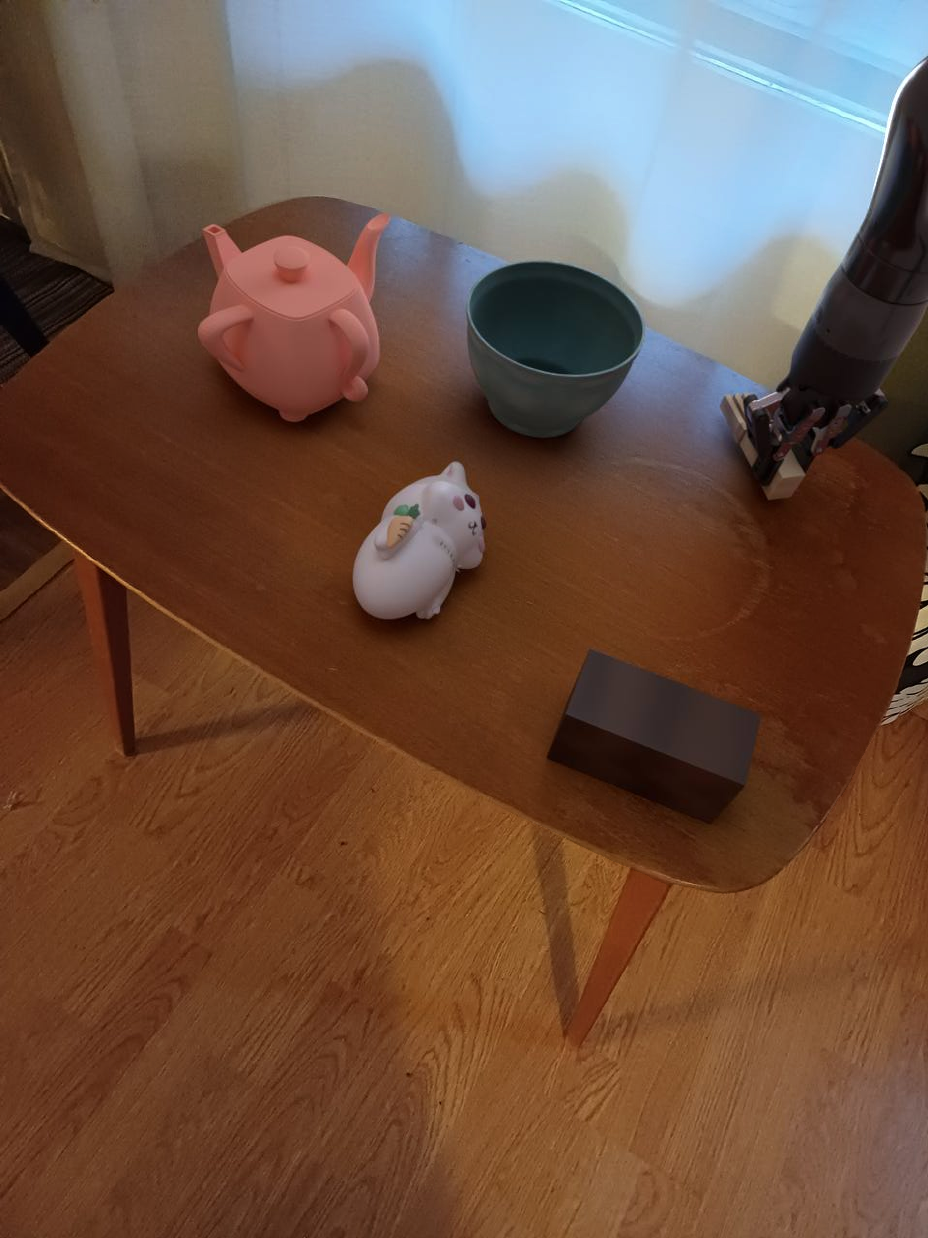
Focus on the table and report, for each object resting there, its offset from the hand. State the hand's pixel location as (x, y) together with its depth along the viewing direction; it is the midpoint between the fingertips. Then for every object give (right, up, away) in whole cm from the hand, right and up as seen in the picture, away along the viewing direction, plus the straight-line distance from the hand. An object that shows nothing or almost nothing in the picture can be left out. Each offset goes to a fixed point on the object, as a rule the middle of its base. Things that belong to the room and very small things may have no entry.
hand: (775, 477), depth 87 cm
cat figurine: (-33, -9, -8) cm, 35 cm away
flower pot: (-22, +8, +5) cm, 24 cm away
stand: (-16, -24, -16) cm, 33 cm away
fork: (-1, +3, +3) cm, 4 cm away
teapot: (-45, +11, +4) cm, 47 cm away
